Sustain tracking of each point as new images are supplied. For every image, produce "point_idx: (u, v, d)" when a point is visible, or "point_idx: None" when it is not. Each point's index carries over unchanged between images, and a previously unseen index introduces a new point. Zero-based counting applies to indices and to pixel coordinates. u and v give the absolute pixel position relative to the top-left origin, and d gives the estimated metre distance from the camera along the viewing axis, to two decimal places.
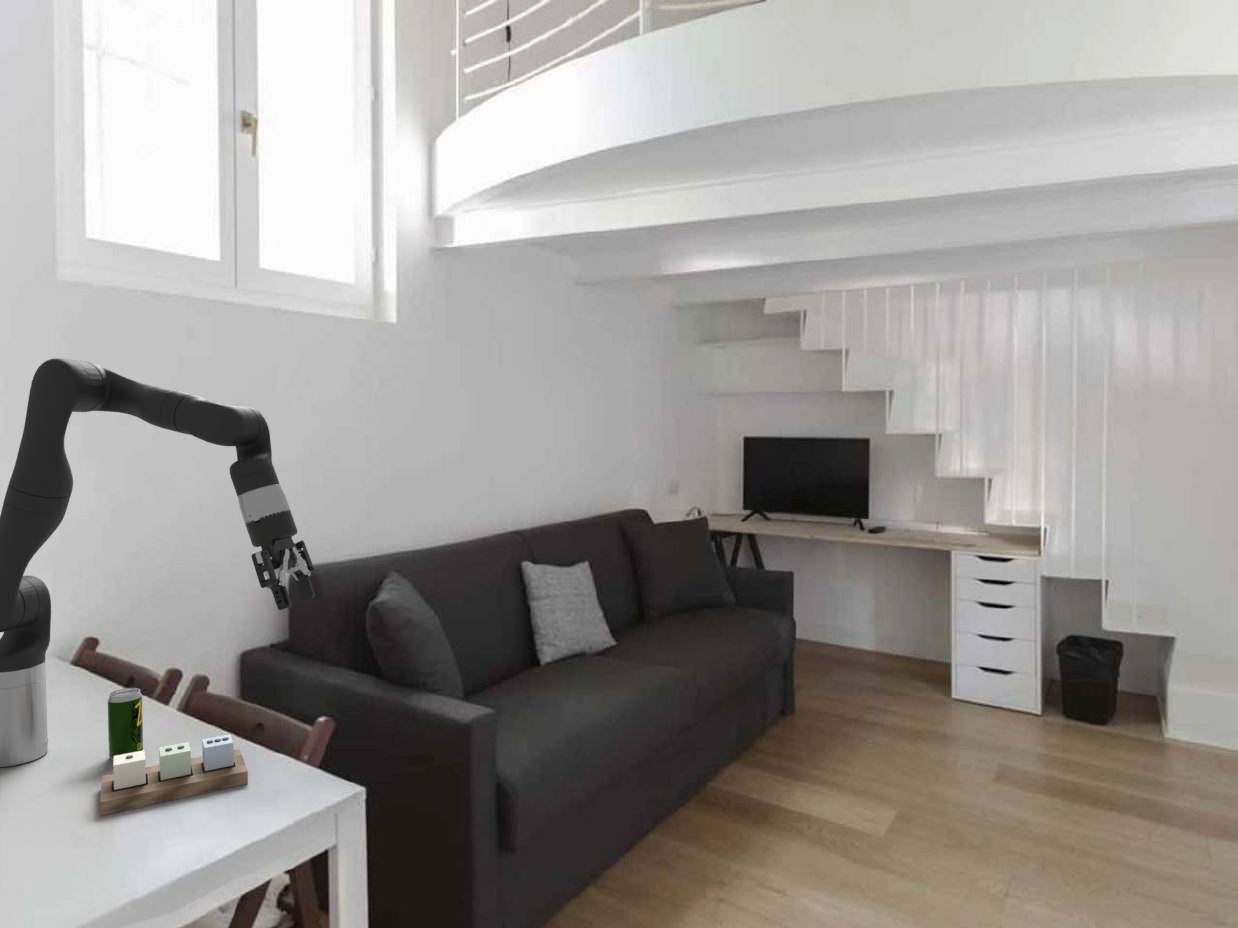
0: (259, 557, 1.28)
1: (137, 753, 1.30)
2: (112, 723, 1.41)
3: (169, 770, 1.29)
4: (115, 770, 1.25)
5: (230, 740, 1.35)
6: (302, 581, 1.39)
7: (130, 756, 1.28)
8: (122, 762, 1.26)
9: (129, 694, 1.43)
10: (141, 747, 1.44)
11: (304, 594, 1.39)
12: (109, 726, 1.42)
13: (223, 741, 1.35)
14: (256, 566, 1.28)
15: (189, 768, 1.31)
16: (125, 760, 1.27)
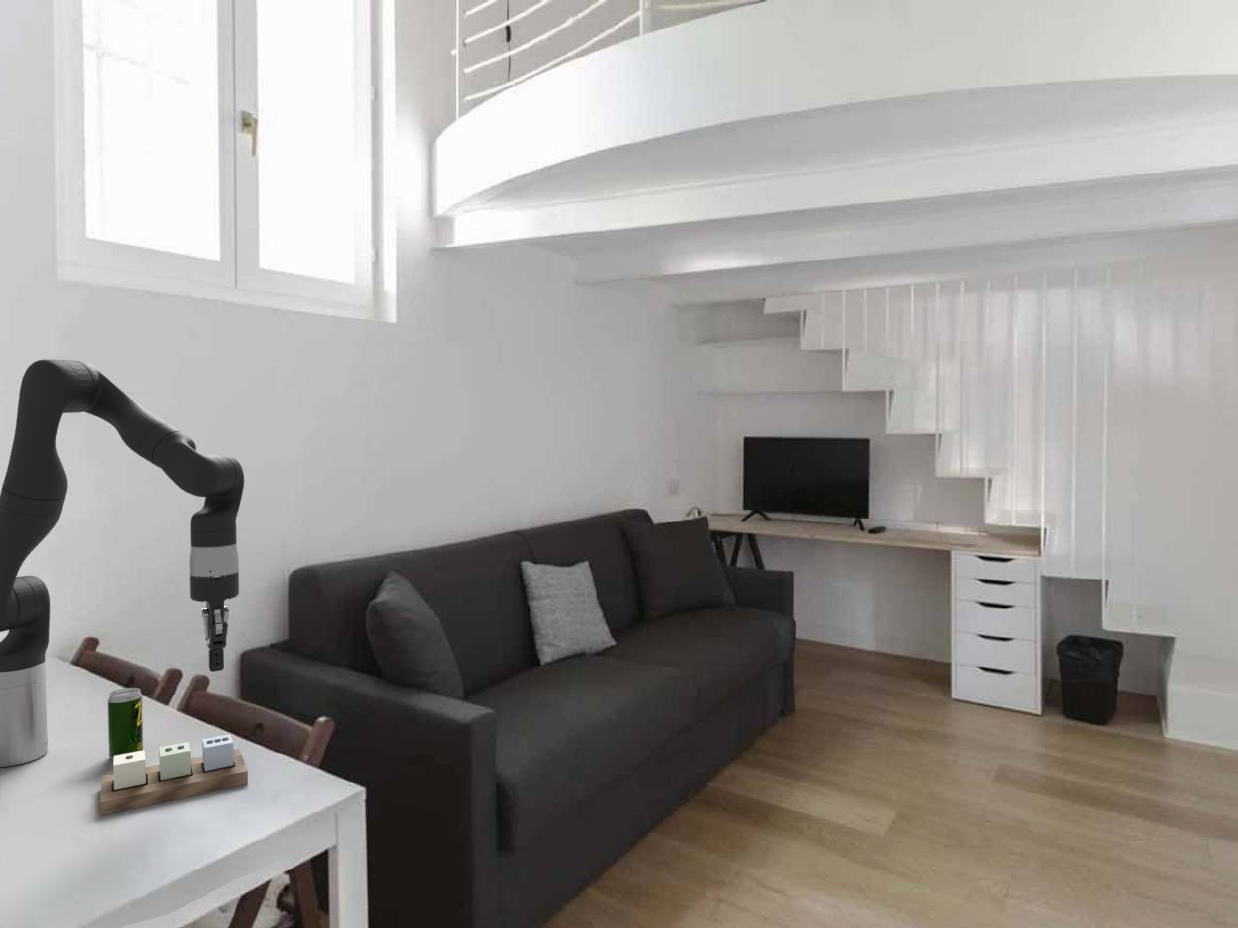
0: (219, 630, 1.29)
1: (137, 753, 1.30)
2: (112, 723, 1.41)
3: (169, 770, 1.29)
4: (115, 770, 1.25)
5: (230, 740, 1.35)
6: None
7: (130, 756, 1.28)
8: (122, 762, 1.26)
9: (129, 694, 1.43)
10: (141, 747, 1.44)
11: None
12: (109, 726, 1.42)
13: (223, 741, 1.35)
14: (212, 636, 1.30)
15: (189, 768, 1.31)
16: (125, 760, 1.27)
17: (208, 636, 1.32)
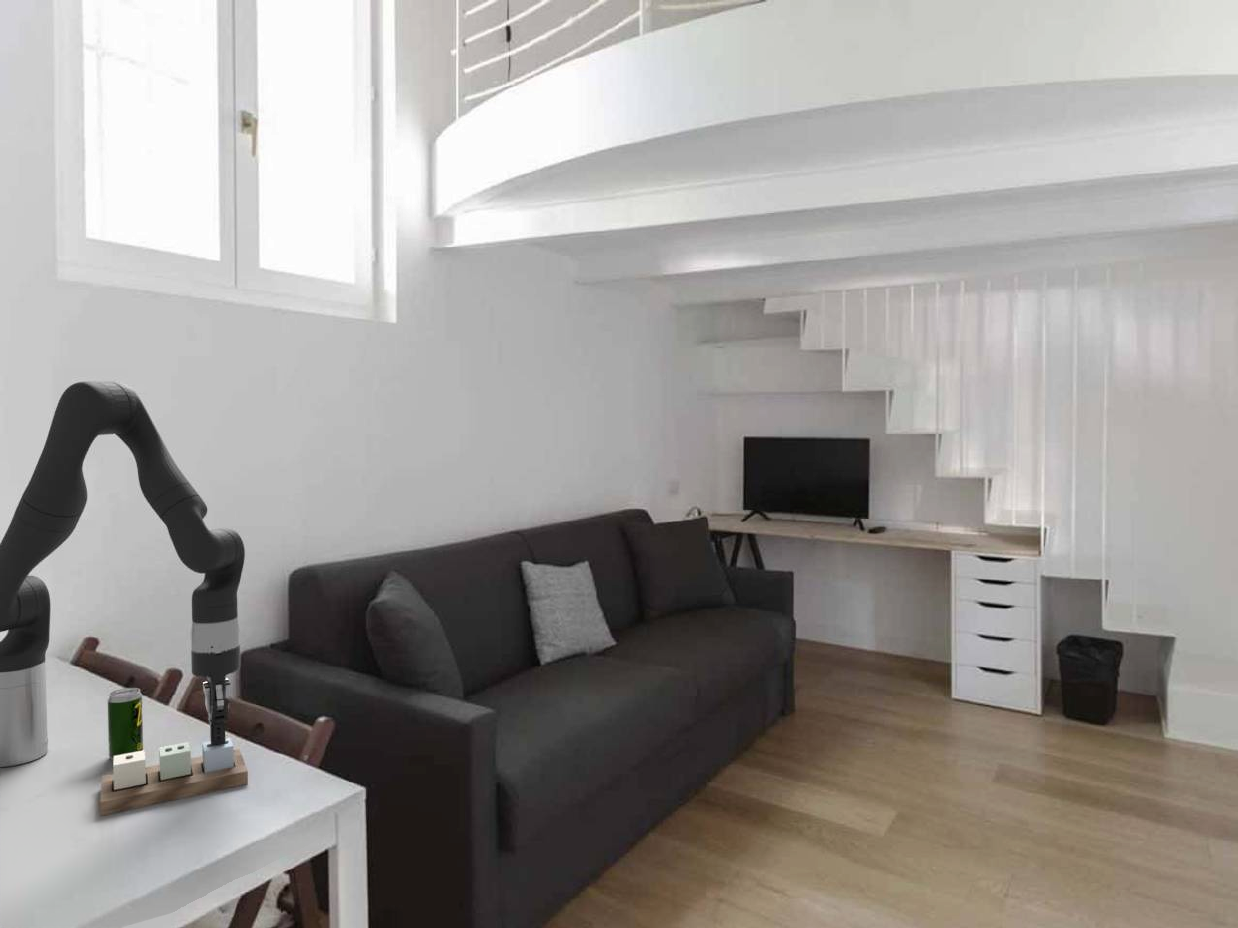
0: (221, 707, 1.30)
1: (137, 753, 1.30)
2: (112, 723, 1.41)
3: (169, 770, 1.29)
4: (115, 770, 1.25)
5: (230, 744, 1.35)
6: None
7: (130, 756, 1.28)
8: (122, 762, 1.26)
9: (129, 694, 1.43)
10: (141, 747, 1.44)
11: None
12: (109, 726, 1.42)
13: (223, 744, 1.35)
14: (214, 712, 1.30)
15: (189, 768, 1.31)
16: (125, 760, 1.27)
17: (210, 711, 1.33)
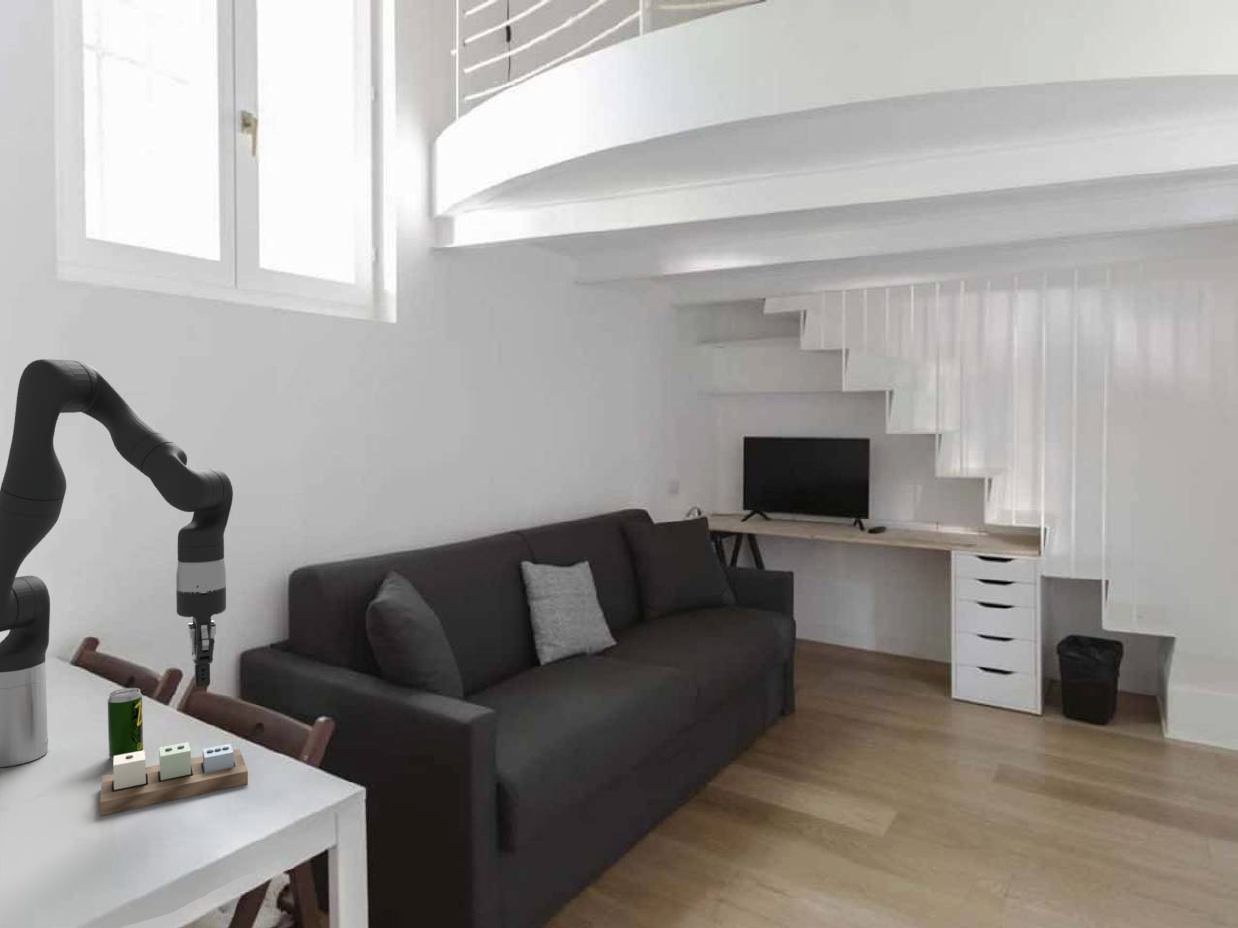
0: (206, 646, 1.29)
1: (137, 753, 1.30)
2: (112, 723, 1.41)
3: (169, 770, 1.29)
4: (115, 770, 1.25)
5: (230, 750, 1.35)
6: None
7: (130, 756, 1.28)
8: (122, 762, 1.26)
9: (129, 694, 1.43)
10: (141, 747, 1.44)
11: None
12: (109, 726, 1.42)
13: (223, 751, 1.35)
14: (199, 652, 1.29)
15: (189, 768, 1.31)
16: (125, 760, 1.27)
17: (194, 651, 1.32)
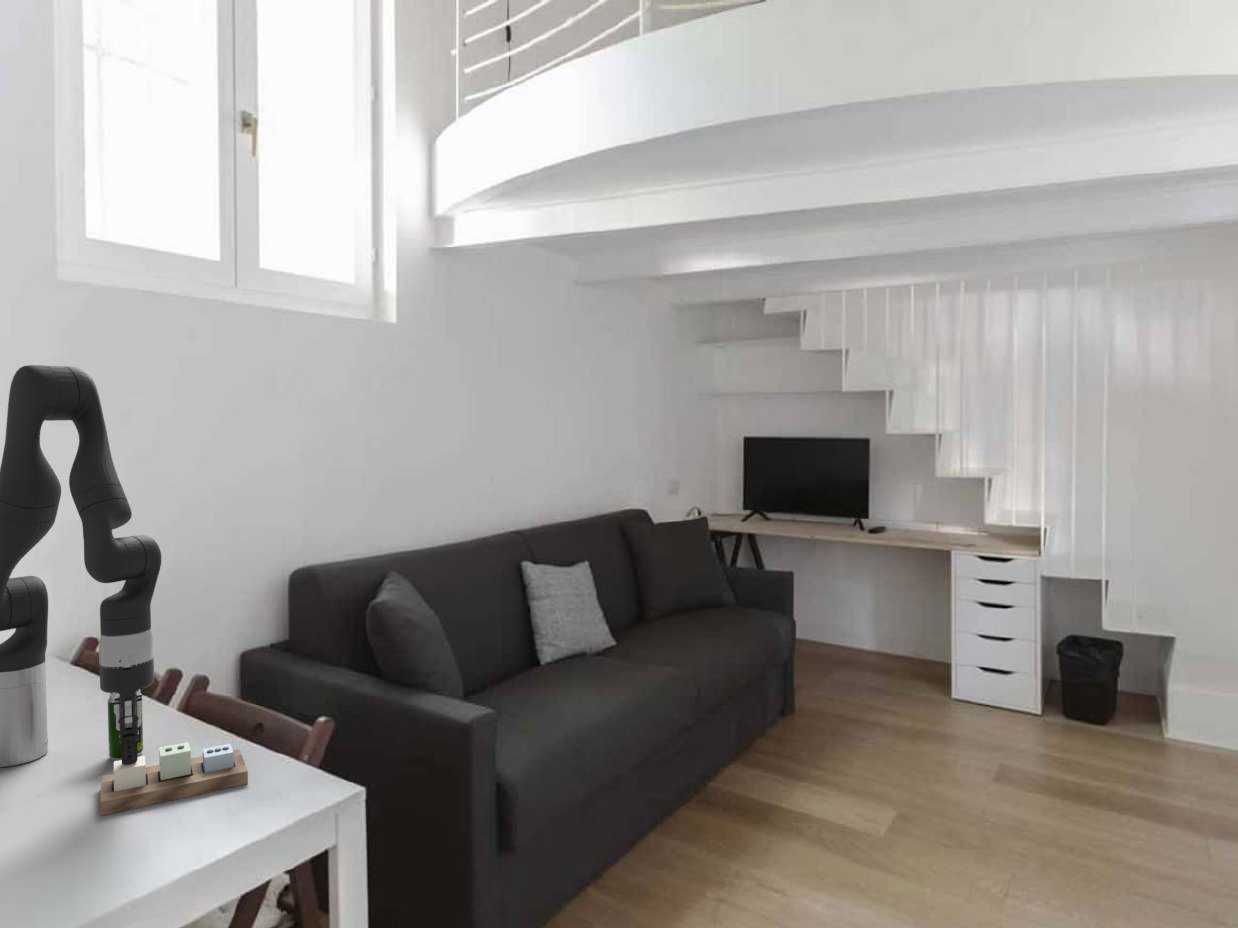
0: (129, 724, 1.23)
1: None
2: (112, 723, 1.41)
3: (169, 770, 1.29)
4: (115, 776, 1.25)
5: (230, 750, 1.35)
6: None
7: None
8: (122, 767, 1.26)
9: None
10: (141, 747, 1.44)
11: None
12: (109, 726, 1.42)
13: (223, 751, 1.35)
14: (122, 730, 1.23)
15: (189, 768, 1.31)
16: (125, 765, 1.27)
17: (119, 728, 1.26)
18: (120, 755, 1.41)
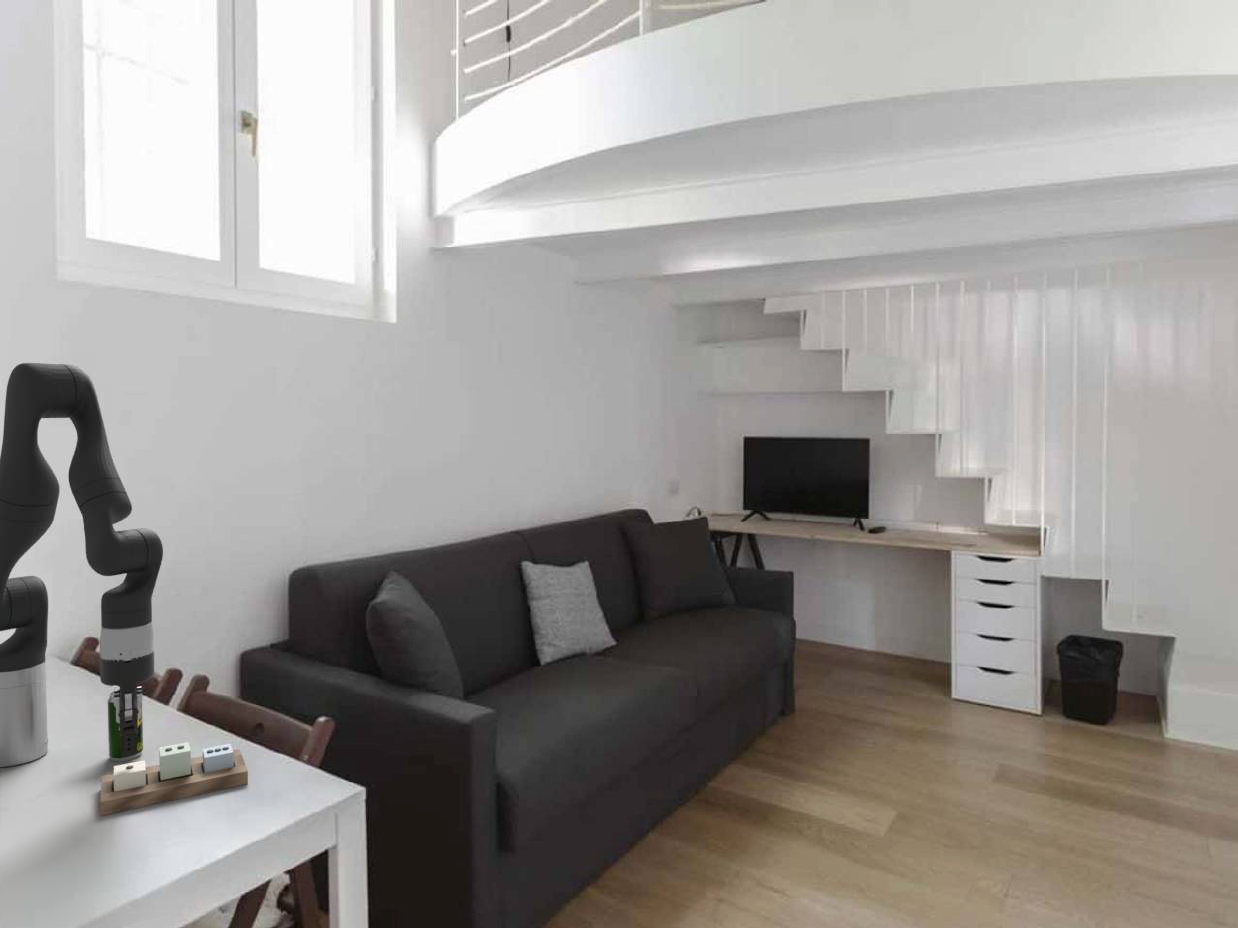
0: (129, 717, 1.23)
1: (137, 763, 1.30)
2: (112, 723, 1.41)
3: (169, 770, 1.29)
4: (115, 781, 1.25)
5: (230, 750, 1.35)
6: None
7: (130, 766, 1.28)
8: (122, 772, 1.26)
9: None
10: (141, 747, 1.44)
11: None
12: (109, 726, 1.42)
13: (223, 751, 1.35)
14: (122, 723, 1.23)
15: (189, 768, 1.31)
16: (125, 770, 1.27)
17: (119, 721, 1.26)
18: (120, 755, 1.41)
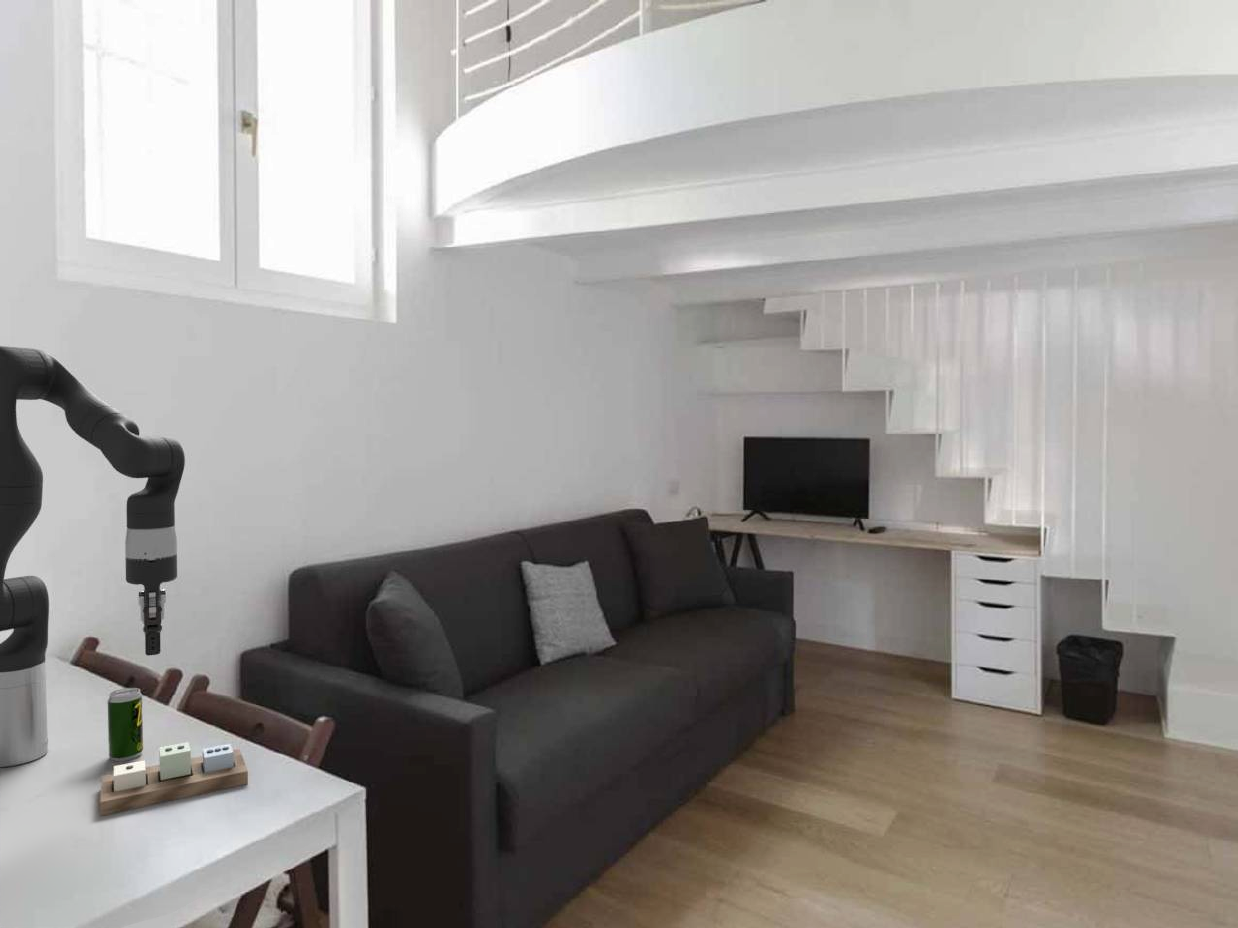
0: (153, 614, 1.28)
1: (137, 763, 1.30)
2: (112, 723, 1.41)
3: (169, 770, 1.29)
4: (115, 781, 1.25)
5: (230, 750, 1.35)
6: None
7: (130, 766, 1.28)
8: (122, 772, 1.26)
9: (129, 694, 1.43)
10: (141, 747, 1.44)
11: None
12: (109, 726, 1.42)
13: (223, 751, 1.35)
14: (146, 619, 1.28)
15: (189, 768, 1.31)
16: (125, 770, 1.27)
17: (143, 619, 1.30)
18: (120, 755, 1.41)
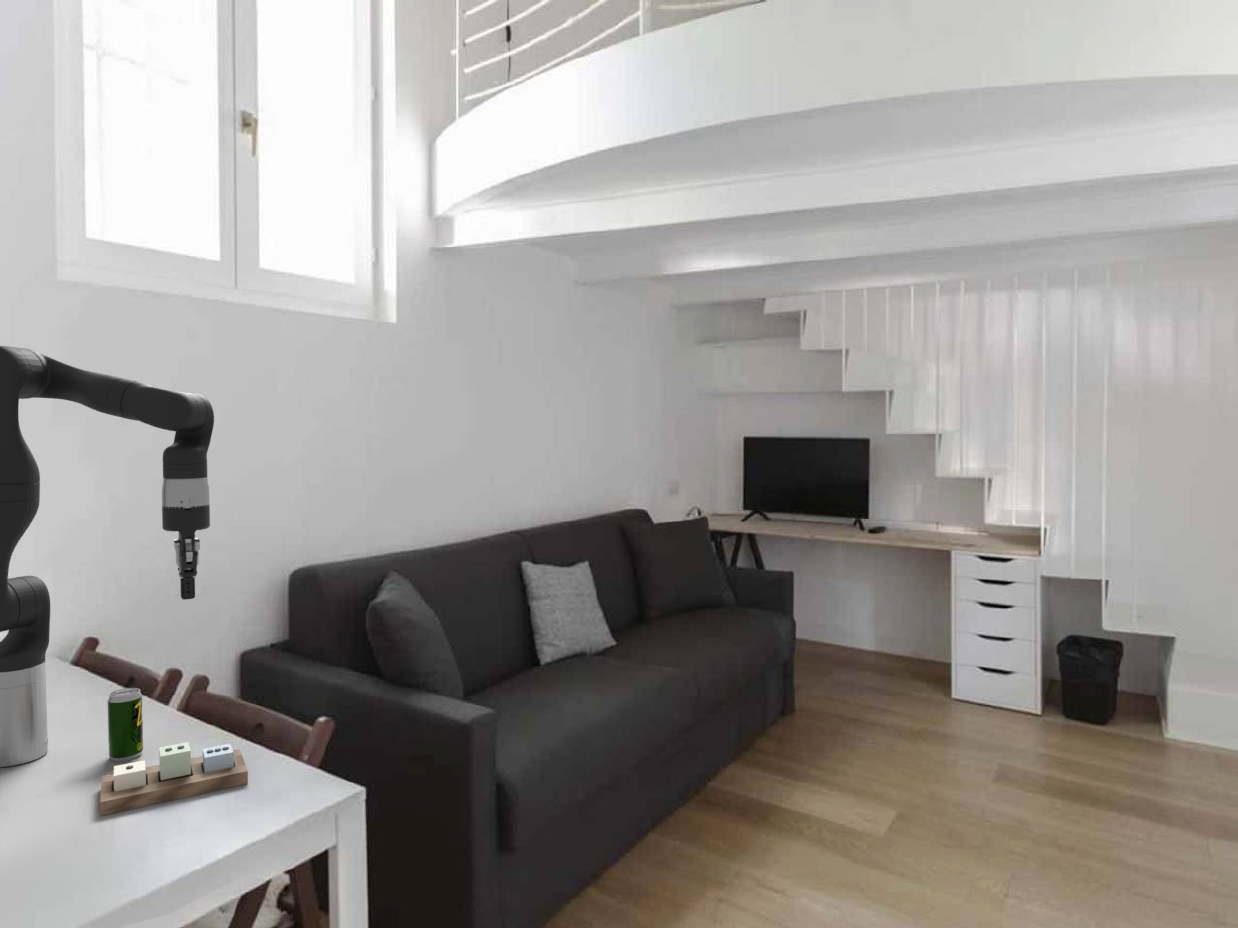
0: (189, 558, 1.36)
1: (137, 763, 1.30)
2: (112, 723, 1.41)
3: (169, 770, 1.29)
4: (115, 781, 1.25)
5: (230, 750, 1.35)
6: None
7: (130, 766, 1.28)
8: (122, 772, 1.26)
9: (129, 694, 1.43)
10: (141, 747, 1.44)
11: None
12: (109, 726, 1.42)
13: (223, 751, 1.35)
14: (183, 563, 1.36)
15: (189, 768, 1.31)
16: (125, 770, 1.27)
17: (179, 565, 1.38)
18: (120, 755, 1.41)
